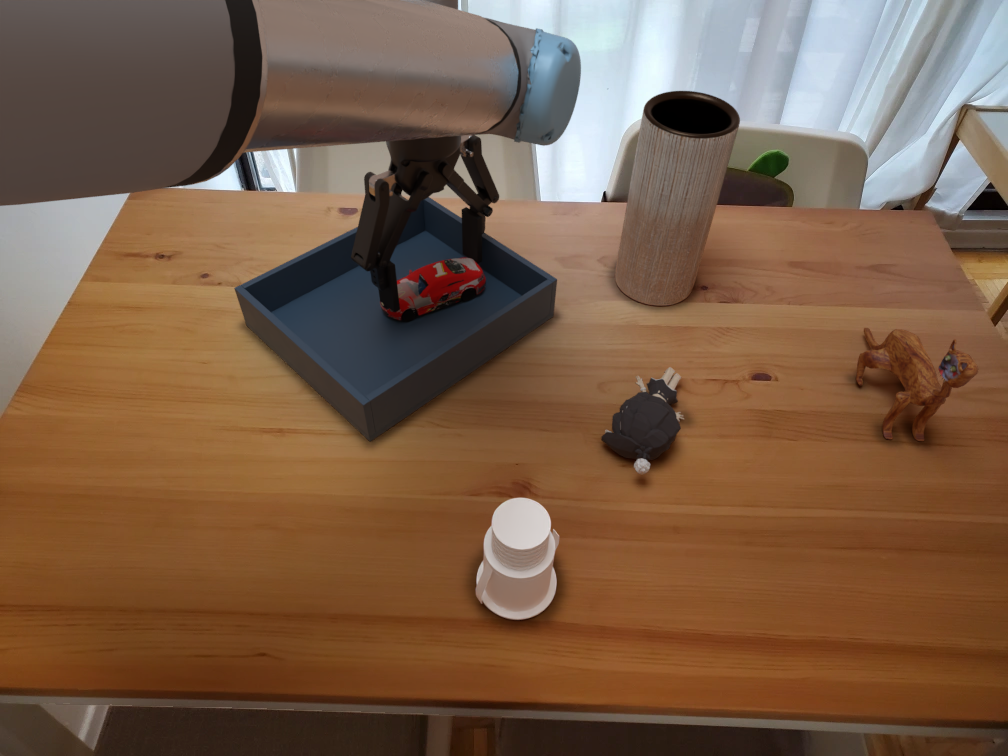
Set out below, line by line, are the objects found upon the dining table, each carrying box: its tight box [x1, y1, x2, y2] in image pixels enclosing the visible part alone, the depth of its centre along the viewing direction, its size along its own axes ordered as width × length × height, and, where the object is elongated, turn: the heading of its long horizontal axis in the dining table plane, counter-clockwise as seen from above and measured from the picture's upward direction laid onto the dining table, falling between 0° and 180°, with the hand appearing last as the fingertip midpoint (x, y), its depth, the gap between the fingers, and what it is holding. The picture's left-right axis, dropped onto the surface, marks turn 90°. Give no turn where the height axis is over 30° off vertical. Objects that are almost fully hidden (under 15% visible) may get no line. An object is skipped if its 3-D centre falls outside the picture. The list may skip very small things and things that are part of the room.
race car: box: [380, 258, 486, 322], centre depth 86 cm, size 13×5×4 cm, turn 118°
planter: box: [614, 90, 741, 306], centre depth 83 cm, size 10×10×23 cm
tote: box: [234, 196, 558, 443], centre depth 83 cm, size 28×24×6 cm
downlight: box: [475, 497, 561, 621], centre depth 60 cm, size 8×7×10 cm
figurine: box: [600, 366, 685, 476], centre depth 73 cm, size 7×6×15 cm
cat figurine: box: [855, 327, 980, 442], centre depth 75 cm, size 18×7×14 cm, turn 177°
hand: (432, 280), depth 85 cm, fingers closed on race car, 12 cm apart
